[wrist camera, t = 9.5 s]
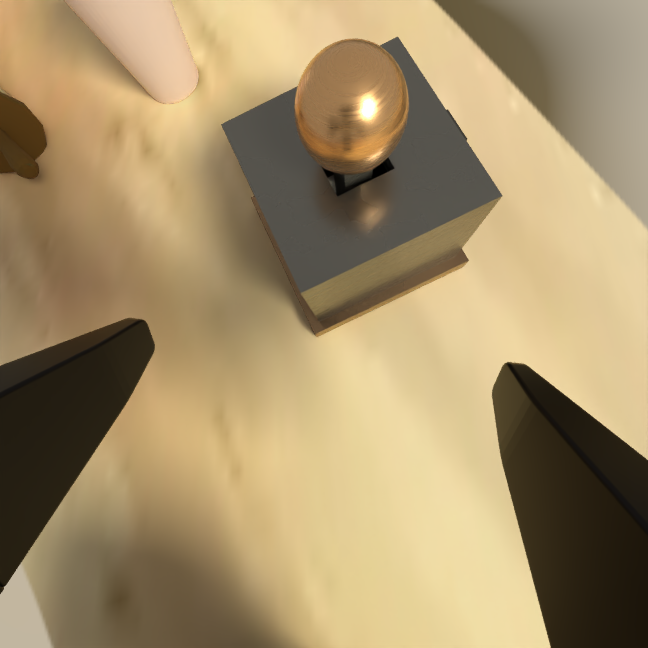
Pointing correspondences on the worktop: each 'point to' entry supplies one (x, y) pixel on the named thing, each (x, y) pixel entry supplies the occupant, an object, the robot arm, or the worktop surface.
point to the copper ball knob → (351, 111)
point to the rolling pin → (19, 138)
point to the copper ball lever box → (364, 205)
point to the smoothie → (144, 43)
